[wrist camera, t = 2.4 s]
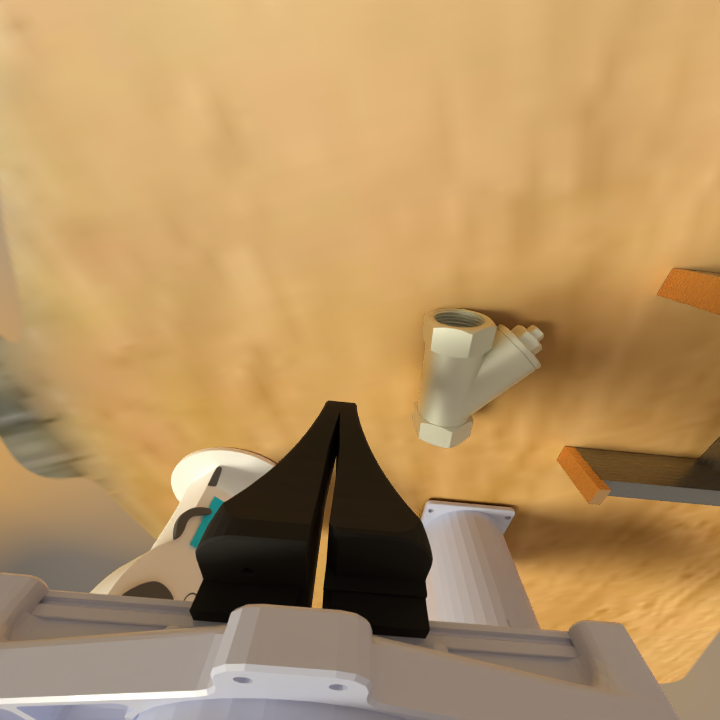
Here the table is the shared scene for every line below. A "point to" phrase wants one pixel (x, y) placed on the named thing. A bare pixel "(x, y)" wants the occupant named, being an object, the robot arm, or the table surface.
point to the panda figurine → (187, 525)
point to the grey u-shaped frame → (643, 471)
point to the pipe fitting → (467, 370)
